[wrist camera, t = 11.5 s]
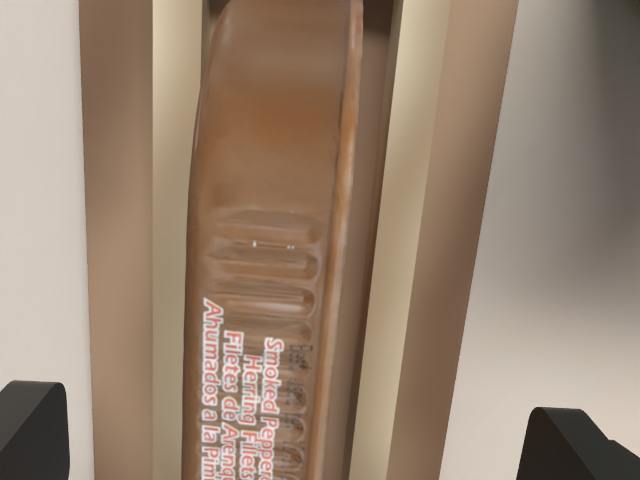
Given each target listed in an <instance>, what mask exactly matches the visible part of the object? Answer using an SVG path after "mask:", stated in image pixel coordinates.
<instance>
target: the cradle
mask: <svg viewBox="0 0 640 480" xmlns="http://www.w3.org/2000/svg"><path fill="white" fill-rule="evenodd" d="M230 1H231V0H79V26H80V56H81V86H82V115H83V145H84V175H85V205H86V234H87V264H88V294H89V324H90V353H91V383H92V413H93V443H94V472H95V480H181V450H182V386H183V352H184V337H183V332H184V306H185V271H186V230H187V208H188V189H189V177H190V166H191V155H192V145H193V134H194V126H195V118H196V111H197V104H198V98H199V92H200V87H201V81H202V75H203V70H204V66H205V62H206V58H207V55H208V51H209V47H210V43H211V39H212V35H213V33H214V30H215V27H216V25H217V22H218V20H219V17H220V15H221V13H222V11H223V9H224V8H225V7H226V5H227V4H228V3H229V2H230ZM518 1H519V0H363V39H362V52H363V54H362V58H361V78H360V87H359V112H358V127H357V133H356V145H355V161H354V173H353V186H352V199H351V210H350V219H349V228H348V238H347V248H346V257H345V267H344V275H343V286H342V294H341V301H340V311H339V322H338V332H337V343H336V353H335V360H334V370H333V379H332V390H331V400H330V410H329V420H328V429H327V437H326V450H325V461H324V468H323V477H322V480H439V475H440V469H441V463H442V457H443V451H444V445H445V439H446V433H447V427H448V421H449V415H450V409H451V403H452V397H453V391H454V385H455V379H456V373H457V367H458V361H459V355H460V349H461V343H462V337H463V331H464V325H465V319H466V313H467V307H468V301H469V295H470V289H471V283H472V277H473V271H474V265H475V259H476V253H477V247H478V241H479V235H480V229H481V223H482V217H483V211H484V205H485V199H486V193H487V187H488V181H489V175H490V169H491V163H492V157H493V151H494V145H495V139H496V133H497V127H498V121H499V115H500V109H501V103H502V97H503V91H504V85H505V79H506V73H507V67H508V61H509V55H510V49H511V43H512V37H513V31H514V25H515V19H516V13H517V7H518Z"/></svg>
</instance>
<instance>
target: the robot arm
mask: <svg viewBox="0 0 640 480" xmlns="http://www.w3.org/2000/svg"><path fill="white" fill-rule="evenodd" d="M69 469H70V453H69V435H68V417H67V399H66V391H65V388H64V386H63V384H62V383H59V382H39V381H18V380H14V381H11V382H10V383H9V384H7V385H6V386H5V387H4V389H3V390H2V391H1V392H0V480H68V477H69ZM516 480H640V458H639V457H638V456H636V455H635V454H633V453H632V452H630V451H629V450H628V449H626V448H625V447H623V446H622V445H620V444H619V443H617V442H616V441H615V440H608V438H607V437H606V436H605V435H604V434H603V433H602V431H601V430H600V429H599V428H598V427H597V425H596V424H595V423H594V422H593V421H592V420H591V418H590V417H589V416H588V415H587V414H586V413H585V412H584V411H583V410H581V409H570V408H550V407H536V408H534V409H533V410H532V412H531V414H530V417H529V420H528V425H527V430H526V435H525V440H524V444H523V449H522V454H521V459H520V464H519V469H518V473H517V478H516Z"/></svg>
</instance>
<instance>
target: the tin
mask: <svg viewBox="0 0 640 480" xmlns="http://www.w3.org/2000/svg"><path fill="white" fill-rule="evenodd" d="M362 39H363V0H231V1H230V2H229V3H228V4H227V5H226V7H225V8H224V9H223V11H222V13H221V15H220V17H219V20H218V22H217V25H216V27H215V30H214V33H213V35H212V39H211V43H210V47H209V51H208V55H207V58H206V62H205V66H204V70H203V75H202V81H201V87H200V92H199V98H198V104H197V111H196V118H195V126H194V134H193V145H192V155H191V166H190V177H189V189H188V208H187V230H186V271H185V306H184V332H183V337H184V352H183V386H182V450H181V480H322V477H323V468H324V461H325V450H326V437H327V429H328V420H329V410H330V400H331V390H332V379H333V370H334V360H335V353H336V343H337V332H338V322H339V311H340V301H341V294H342V286H343V275H344V267H345V257H346V248H347V238H348V228H349V219H350V210H351V199H352V186H353V173H354V161H355V145H356V133H357V127H358V112H359V87H360V78H361V58H362V54H363V52H362Z"/></svg>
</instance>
